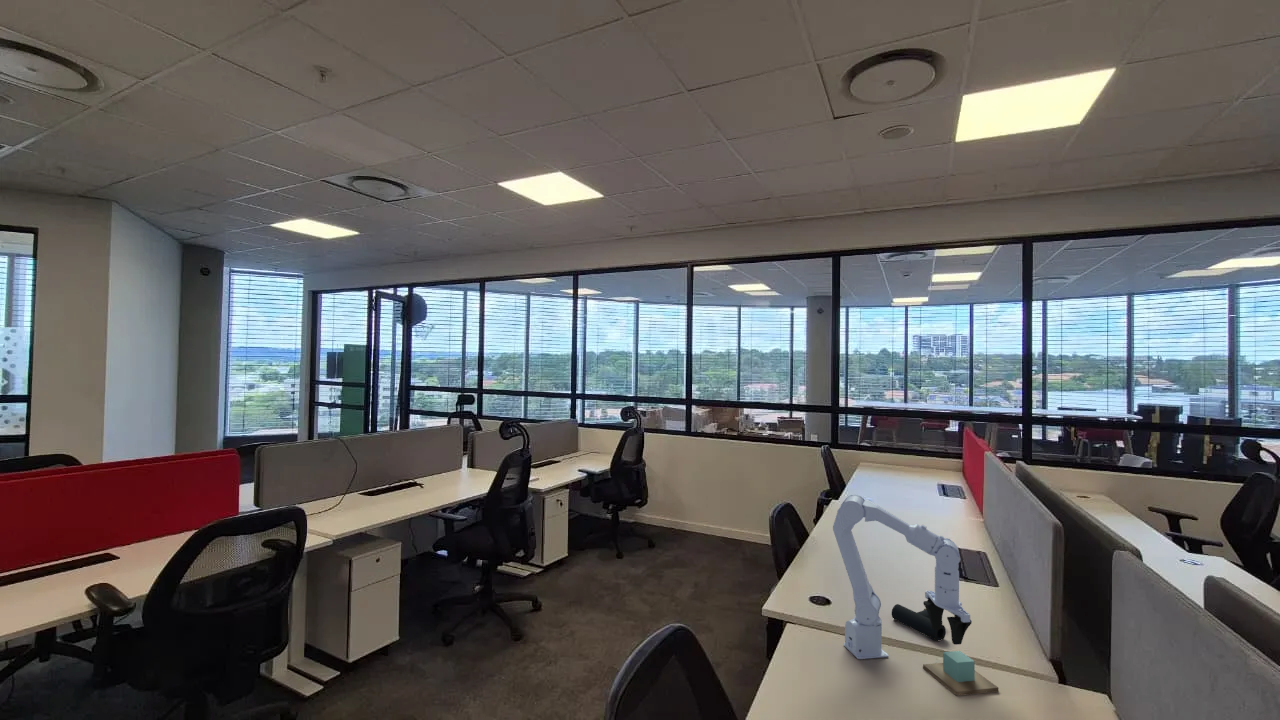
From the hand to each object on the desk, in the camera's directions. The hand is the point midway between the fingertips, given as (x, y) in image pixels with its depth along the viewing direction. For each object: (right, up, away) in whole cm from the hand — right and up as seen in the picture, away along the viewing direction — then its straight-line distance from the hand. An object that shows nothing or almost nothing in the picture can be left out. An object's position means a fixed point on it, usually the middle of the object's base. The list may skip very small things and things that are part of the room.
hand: (946, 636), depth 140 cm
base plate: (+1, -9, -4) cm, 10 cm away
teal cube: (+1, -8, -4) cm, 9 cm away
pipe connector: (+7, -10, +24) cm, 27 cm away
